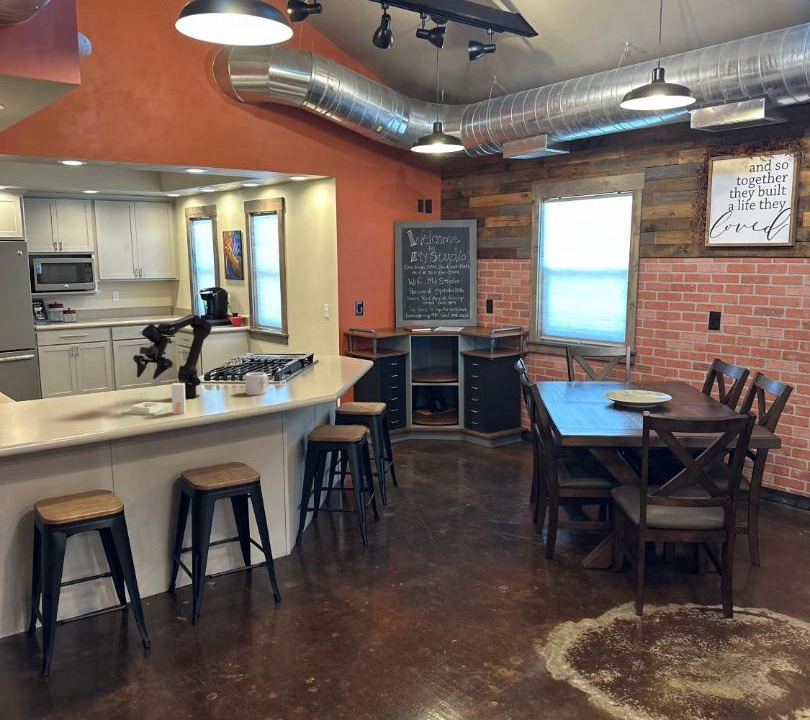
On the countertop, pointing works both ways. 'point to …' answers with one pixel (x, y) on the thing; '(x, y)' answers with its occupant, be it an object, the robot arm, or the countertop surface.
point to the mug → (256, 383)
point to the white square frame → (146, 407)
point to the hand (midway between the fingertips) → (145, 377)
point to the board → (165, 406)
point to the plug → (178, 398)
